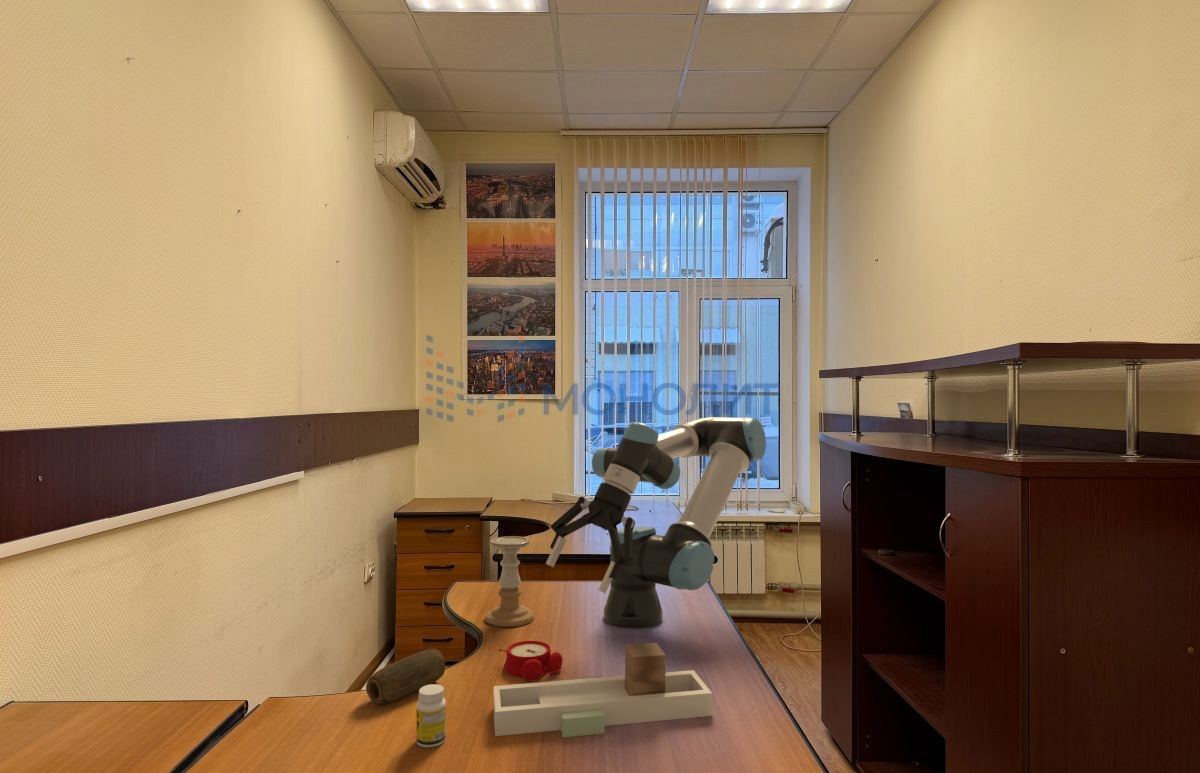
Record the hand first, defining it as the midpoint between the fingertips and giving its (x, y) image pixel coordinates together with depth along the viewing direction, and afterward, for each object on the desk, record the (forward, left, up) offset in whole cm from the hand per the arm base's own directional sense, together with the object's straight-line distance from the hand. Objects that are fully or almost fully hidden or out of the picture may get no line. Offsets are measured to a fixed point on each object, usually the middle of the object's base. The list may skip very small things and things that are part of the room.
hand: (575, 578), depth 139 cm
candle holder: (-2, -33, -18) cm, 38 cm away
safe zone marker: (+13, +19, -18) cm, 29 cm away
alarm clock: (+9, -2, -18) cm, 20 cm away
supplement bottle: (+37, +13, -18) cm, 43 cm away
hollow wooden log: (+34, -7, -18) cm, 39 cm away
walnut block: (+1, +25, -15) cm, 29 cm away
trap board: (+8, +21, -18) cm, 29 cm away
